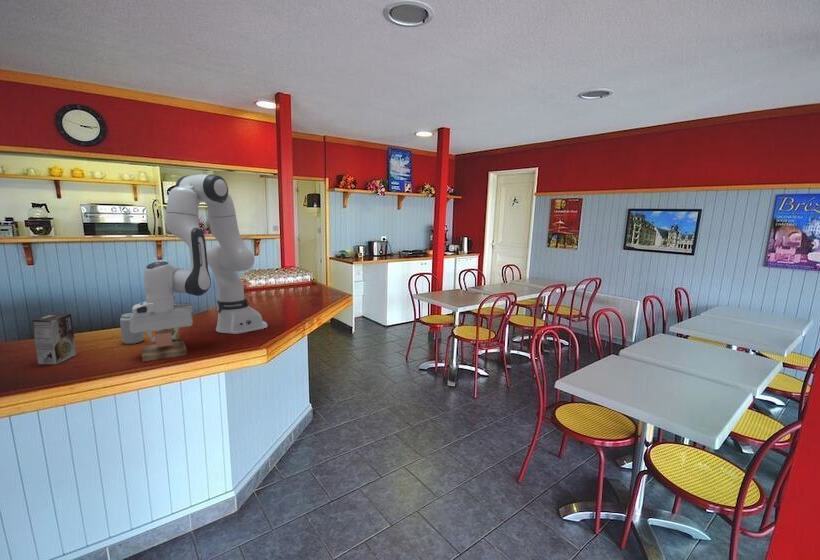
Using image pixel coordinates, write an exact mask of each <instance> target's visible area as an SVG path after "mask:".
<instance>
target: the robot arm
mask: <svg viewBox="0 0 820 560" xmlns="http://www.w3.org/2000/svg"><path fill="white" fill-rule="evenodd" d="M168 193H169V194H168V198H167V200H166V201H167V202H166V208H165V225H166V228H167V230H168V231H169V232H170V234H172V235H173V236H175V237H176V238H178V239H180V240H182V241H183V242H184V243H185V244H186V245H187V247H188V249H189V257H190V269H187V268H179V267H176V266H173V265H172V264H170V263H169V262H168V261H155V262H151V263H149V264H147V265H146V266H145V268H144V269H145V270H144V274H143V275H144V277H143V278H144V288H145V290H146V296H145V301H143V302H140V303H137V304H134V305H133V306H132V308H131V311H132V312H131V313H132V314H131V317H130V332H132V333H139V332H144V333H147V334H146V335H147V336H148V337H149V338H150V339H151V340H150V341H151V343H156V336H153V335H152V332H153V331H154V332H155V331H160V330H164V329H172V328H174V331H175V332H174V333H173V334H171V337H172V340H173V339H176V334H177V332H178V328H179V329H180V328H185V327H192V325H193V324H194V322H193V320H194V319H193V314H192V313H193V311H194V309H193V305H192V304H191V303H188V302H183V303H175V299H174V297H175V295H174V293H179V294H184V295H185V294H186V295H190V296H191V295H192V296H196V297H199V296H202V295H204V294H206V293H207V292H208V290H210V287H211V284H212V279H211V274H210V272H209V268H210V269H211V271H212V274H213V277H214V279H215V283H216V287H217V288H216V289H217V301H216V309H217V313H218V315H217V323H216V324H217V325H216V328H215V331H216V332H217V333H221V334H233V335H239V334H243V333H249V332H252V331H253V332H254V331H259V330H265V329H267V328H268V322H266V321H264V320H263V316H262V314H261V313H260V312H259V311H258V310H256V309H254V308H253V307H251V305H252V301H251V300H249V299H247V298H245V290H244V288H245V287H244V286H245V285H244V282H243V280H242V279H241V278H240V277H239V275H238V274H237V272H245V271H249V270H250V269H252V267H253V266H254V264H255V254H254V252H252V251H251V250H250V249H249V248H248V247H247V246H246V244H245V242H244V240H243V239H242V236H241V234H240V231H239V226H238V220H237V213H236V209H235V205H234V202H233V201H234V200H233V199H232V195H231V194H230V193H229V186H228V184H227V182H226V180H225V179H224V178H223V177H222V176H221V175H218V174H213V173H212V174H205V173H202V174H200V173H198V174H194V175H185V176H181V177H180V178H178V180H177V181H176V182H175V185H174V187H173V188H171V190H169V192H168ZM201 203H205V205H206V207H207V215H208V222H209V227H210V233H211V235H212V236H213V238H215V239H216V241H217V242H218V243H219V245H215V246H211V247H209V248H207V243H206V238H205V237H206V236H205V234H204V231H203V230H202V229H201V228H200V222H199V206H200V204H201ZM264 328H265V329H264Z"/></svg>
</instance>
